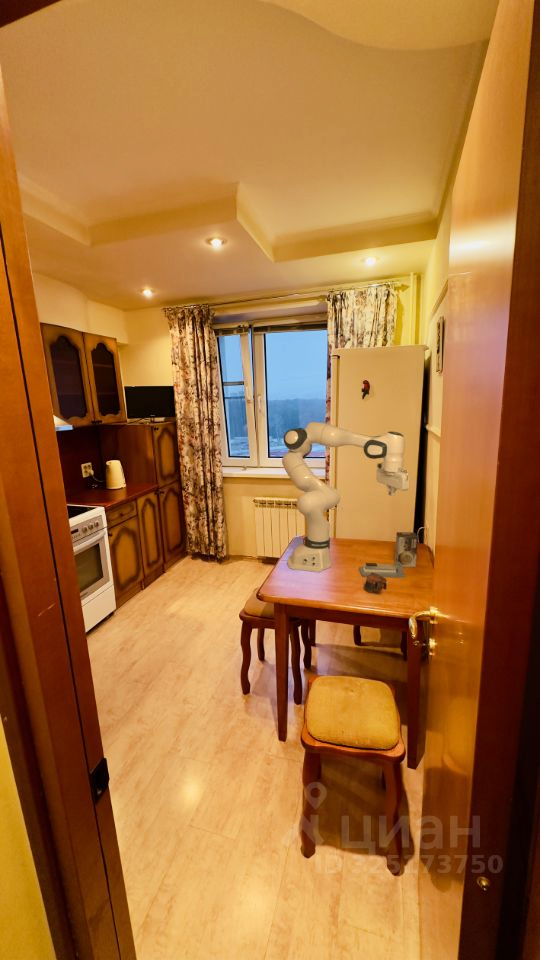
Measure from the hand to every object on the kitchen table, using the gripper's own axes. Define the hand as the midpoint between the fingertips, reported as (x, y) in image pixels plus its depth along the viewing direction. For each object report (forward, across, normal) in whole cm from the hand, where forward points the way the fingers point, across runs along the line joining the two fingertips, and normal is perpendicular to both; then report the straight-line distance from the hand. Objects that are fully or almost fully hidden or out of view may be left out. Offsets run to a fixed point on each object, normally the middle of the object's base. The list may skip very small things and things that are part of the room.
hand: (391, 495), depth 172 cm
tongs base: (+37, -5, +6) cm, 38 cm away
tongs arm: (+34, -5, +6) cm, 35 cm away
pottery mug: (+37, -17, +18) cm, 45 cm away
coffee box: (+37, -1, -10) cm, 39 cm away
